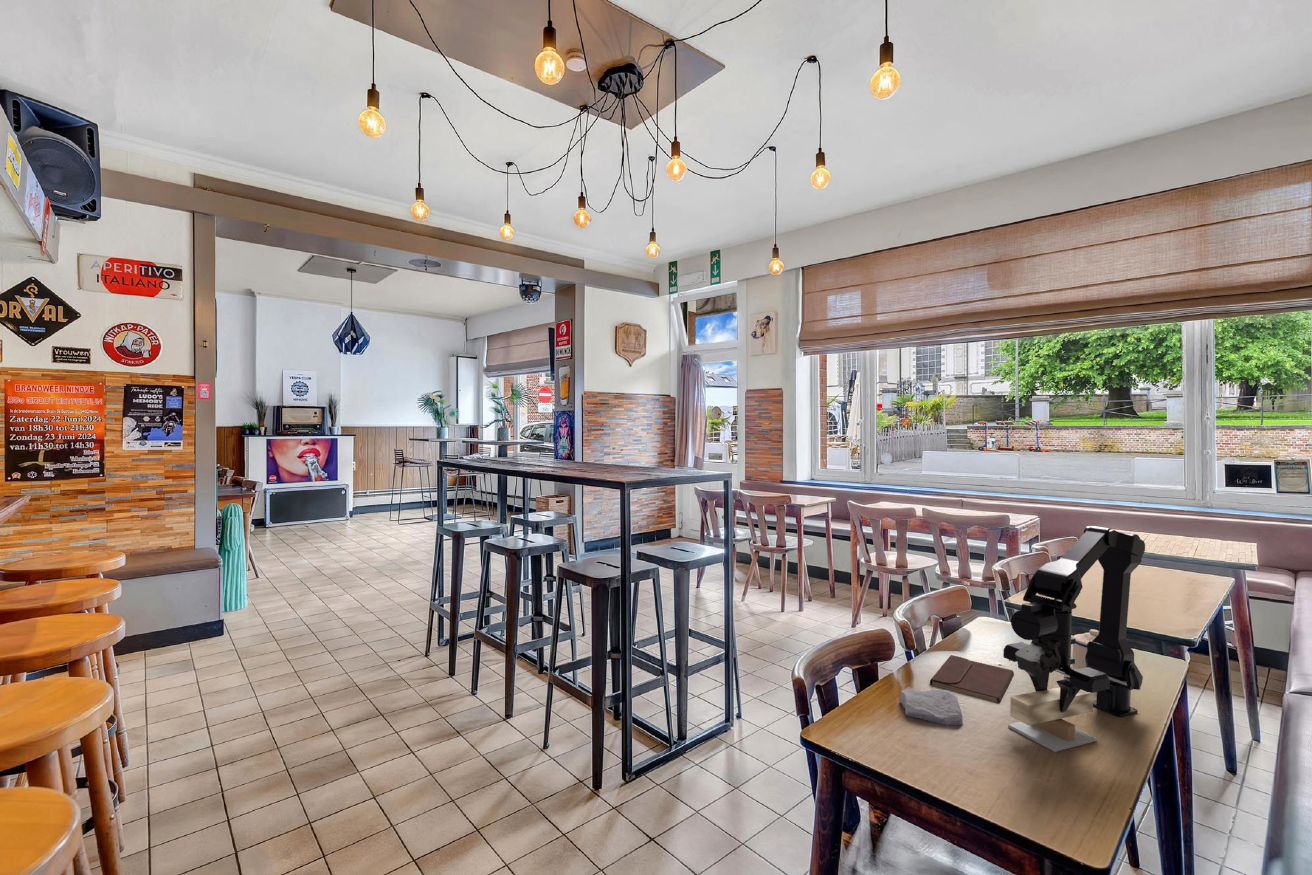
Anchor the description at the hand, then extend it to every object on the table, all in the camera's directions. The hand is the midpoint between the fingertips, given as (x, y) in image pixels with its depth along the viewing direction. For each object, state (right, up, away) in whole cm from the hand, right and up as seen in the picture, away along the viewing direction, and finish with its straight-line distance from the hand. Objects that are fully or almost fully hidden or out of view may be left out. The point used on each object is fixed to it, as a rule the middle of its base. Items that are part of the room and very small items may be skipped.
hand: (1052, 706), depth 123 cm
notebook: (-3, -6, +26) cm, 27 cm away
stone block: (-21, -6, +8) cm, 23 cm away
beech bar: (0, -1, 0) cm, 1 cm away
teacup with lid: (+30, -5, +30) cm, 43 cm away
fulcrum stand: (0, -6, 0) cm, 6 cm away
